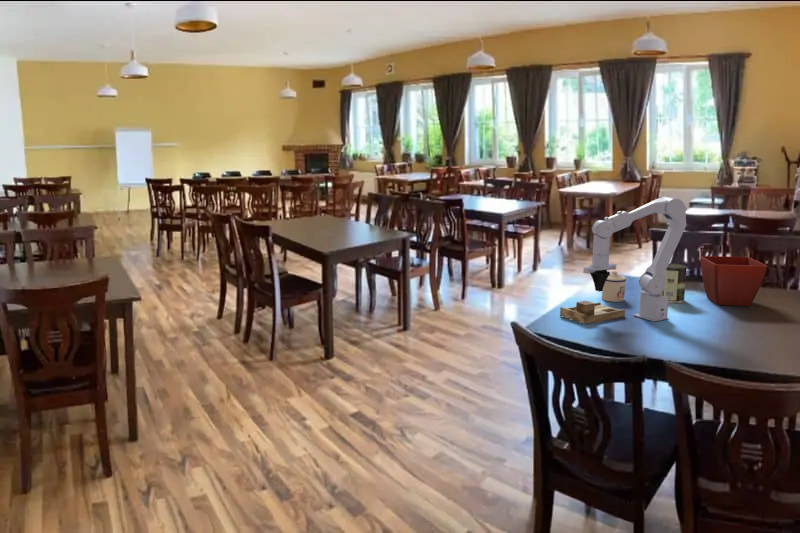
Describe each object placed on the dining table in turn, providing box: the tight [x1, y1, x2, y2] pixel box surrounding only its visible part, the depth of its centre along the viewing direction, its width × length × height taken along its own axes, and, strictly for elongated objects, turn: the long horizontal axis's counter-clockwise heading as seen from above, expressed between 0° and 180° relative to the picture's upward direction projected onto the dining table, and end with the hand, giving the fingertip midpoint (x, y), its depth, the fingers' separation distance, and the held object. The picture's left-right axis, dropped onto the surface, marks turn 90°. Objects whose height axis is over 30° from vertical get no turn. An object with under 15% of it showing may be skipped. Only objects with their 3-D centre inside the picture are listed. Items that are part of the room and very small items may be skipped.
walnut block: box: [575, 300, 596, 316], centre depth 250 cm, size 4×4×4 cm
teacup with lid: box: [601, 270, 627, 303], centre depth 281 cm, size 12×9×12 cm
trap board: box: [559, 302, 626, 325], centre depth 255 cm, size 12×20×4 cm, turn 121°
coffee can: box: [662, 262, 688, 304], centre depth 279 cm, size 10×10×14 cm
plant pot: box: [699, 255, 768, 307], centre depth 275 cm, size 19×19×17 cm
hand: (598, 290), depth 253 cm, fingers closed
